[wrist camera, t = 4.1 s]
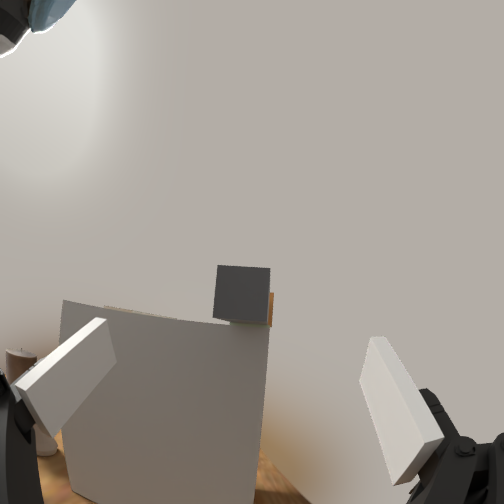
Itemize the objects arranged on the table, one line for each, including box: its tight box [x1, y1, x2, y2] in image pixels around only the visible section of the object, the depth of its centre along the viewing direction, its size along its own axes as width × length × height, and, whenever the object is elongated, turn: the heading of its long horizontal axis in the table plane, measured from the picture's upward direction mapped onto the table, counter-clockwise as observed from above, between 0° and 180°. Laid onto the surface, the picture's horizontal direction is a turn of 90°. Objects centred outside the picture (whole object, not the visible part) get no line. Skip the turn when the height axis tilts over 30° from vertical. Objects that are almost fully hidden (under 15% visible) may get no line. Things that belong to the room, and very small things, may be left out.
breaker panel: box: [59, 300, 270, 504], centre depth 32 cm, size 17×26×30 cm, turn 87°
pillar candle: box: [6, 349, 37, 385], centre depth 46 cm, size 10×10×15 cm
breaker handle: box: [213, 265, 274, 327], centre depth 30 cm, size 26×5×5 cm, turn 177°
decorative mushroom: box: [33, 423, 58, 456], centre depth 30 cm, size 10×9×15 cm
